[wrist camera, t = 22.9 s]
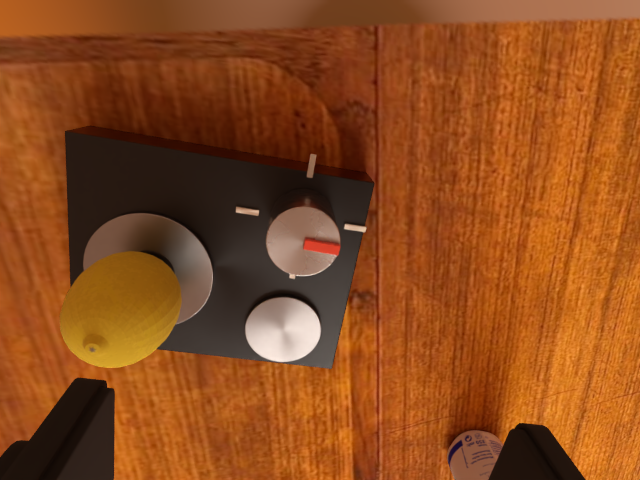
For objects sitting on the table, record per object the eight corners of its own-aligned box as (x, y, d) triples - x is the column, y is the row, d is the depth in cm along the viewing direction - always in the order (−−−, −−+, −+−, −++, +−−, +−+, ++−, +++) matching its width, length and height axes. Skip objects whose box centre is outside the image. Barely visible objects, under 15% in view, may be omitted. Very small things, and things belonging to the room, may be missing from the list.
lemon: (213, 272, 26) (180, 348, 19) (157, 326, 27) (106, 418, 20) (141, 213, 25) (74, 271, 17) (86, 273, 26) (1, 352, 18)
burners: (84, 201, 25) (80, 204, 24) (339, 239, 26) (340, 242, 26) (87, 336, 28) (83, 341, 27) (313, 362, 30) (314, 366, 29)
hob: (89, 107, 26) (62, 110, 23) (371, 156, 28) (380, 166, 25) (92, 316, 31) (70, 341, 28) (329, 344, 33) (333, 370, 30)
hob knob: (265, 243, 26) (259, 272, 22) (275, 182, 25) (272, 201, 21) (326, 253, 27) (332, 284, 23) (340, 194, 25) (348, 216, 21)
